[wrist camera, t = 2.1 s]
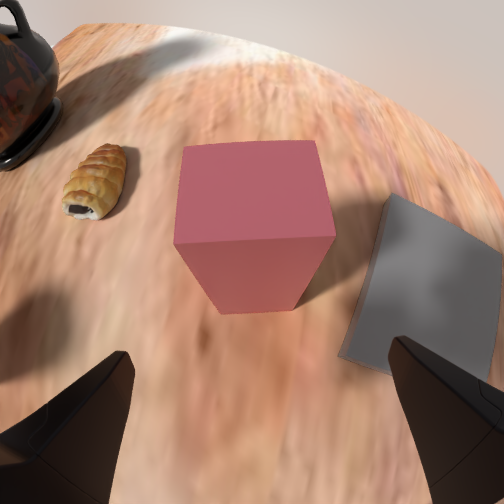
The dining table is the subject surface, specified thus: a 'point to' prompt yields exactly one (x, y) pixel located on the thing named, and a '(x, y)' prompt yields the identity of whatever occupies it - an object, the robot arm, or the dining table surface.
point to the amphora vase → (25, 89)
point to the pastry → (95, 184)
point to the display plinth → (426, 292)
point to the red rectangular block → (253, 222)
